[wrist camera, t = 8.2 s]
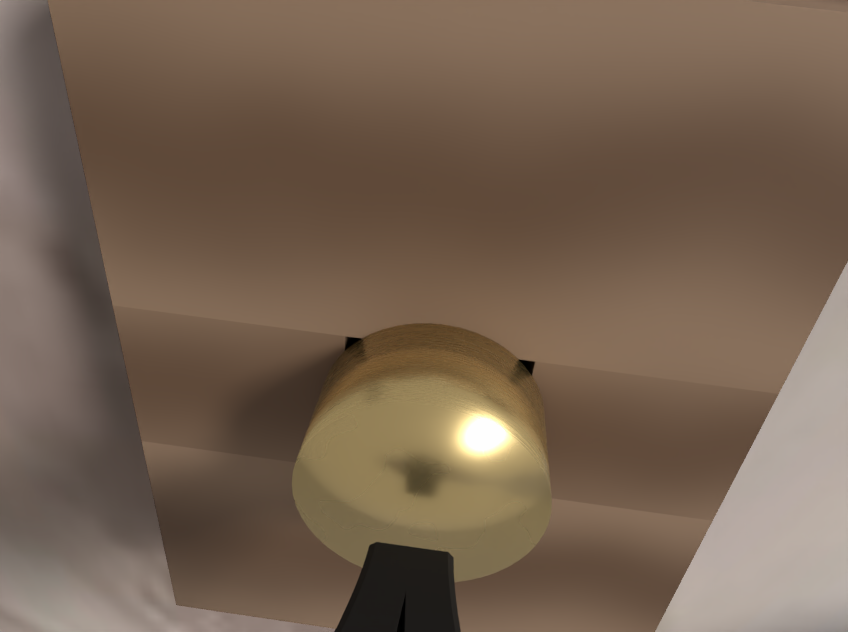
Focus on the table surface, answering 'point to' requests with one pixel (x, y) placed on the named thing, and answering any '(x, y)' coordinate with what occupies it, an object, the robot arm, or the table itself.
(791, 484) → the table surface
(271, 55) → the walnut block
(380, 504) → the brass peg
